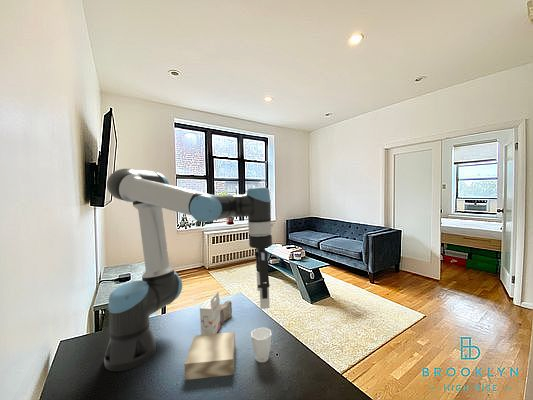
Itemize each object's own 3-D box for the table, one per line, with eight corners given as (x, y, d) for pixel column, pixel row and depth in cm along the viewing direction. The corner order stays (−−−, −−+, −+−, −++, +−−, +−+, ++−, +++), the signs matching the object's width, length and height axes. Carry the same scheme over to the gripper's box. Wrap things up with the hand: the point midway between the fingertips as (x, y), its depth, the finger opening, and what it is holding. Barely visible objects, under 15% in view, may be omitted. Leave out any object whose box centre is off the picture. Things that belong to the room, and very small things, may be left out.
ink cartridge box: (209, 326, 95) (207, 290, 94) (220, 326, 94) (219, 291, 94) (200, 339, 86) (199, 300, 86) (213, 339, 85) (211, 300, 85)
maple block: (185, 381, 67) (184, 363, 67) (195, 349, 81) (194, 335, 81) (233, 375, 68) (233, 359, 68) (235, 345, 82) (234, 331, 82)
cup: (248, 363, 73) (247, 338, 73) (258, 343, 82) (257, 321, 82) (269, 367, 71) (268, 341, 71) (277, 346, 80) (276, 323, 80)
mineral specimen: (222, 311, 107) (221, 297, 107) (234, 314, 104) (234, 300, 104) (202, 324, 96) (202, 309, 96) (215, 328, 93) (215, 313, 93)
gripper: (277, 240, 64) (280, 316, 64) (267, 228, 89) (269, 283, 89) (250, 241, 63) (253, 318, 63) (247, 230, 88) (250, 285, 88)
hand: (262, 298), depth 76 cm, fingers open, 13 cm apart
